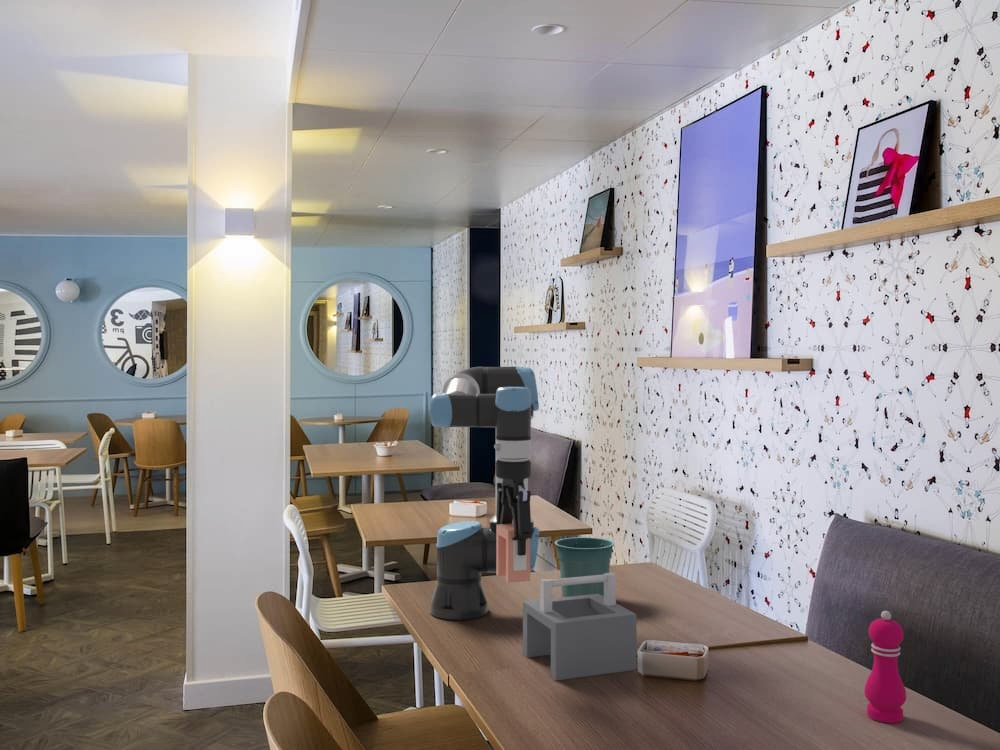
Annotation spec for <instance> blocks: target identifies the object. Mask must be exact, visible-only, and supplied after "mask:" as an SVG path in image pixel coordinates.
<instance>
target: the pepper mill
mask: <svg viewBox="0 0 1000 750" xmlns="http://www.w3.org/2000/svg"><path fill="white" fill-rule="evenodd" d="M880 617H881V618H876V619H875V620H872V622H870V625H869V626H868V637H869V638H870V640H871V641H872V643H871V653H873V664H872V669H871V671H870V673H869V676H868V677H867V679H866V682H865V684H864V685H865V686H864V697H865V698H866V700H868V702H869V703H868V704H867V705H866V714H867V717H868V718H869V719H871V718H872V719H871V720H873V719H874V721H875V720H877V721H876V722H879V721H881V722H880V723H883V722H886V723H885V724H899V723H901V722H903V720H904V709H903V708H902V706H903V705H904V704H905V703H906V701H907V691H906V687H905V685H904V683H903V681H902V678H901V676H900V673H899V672H900V671H899V666H898V658H899V656H900V655H901V652H900V651H901V647H900V644H901V643H902V641H904V630H903V628H902V626H901V625H900V624H899V622H897V621H895V620H893V619H892V614H891V611H888V610H883V611H882V612H881V614H880ZM898 722H899V723H898Z"/></svg>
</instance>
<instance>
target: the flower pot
mask: <svg viewBox="0 0 1000 750" xmlns="http://www.w3.org/2000/svg"><path fill="white" fill-rule="evenodd" d="M554 546H556V551H557V553H556V554H557V558H558V562H559V572H560V573H559V575H560V579H561V578H571V577H582V576H593V575H603V574H604V573H610V566H611V559H612V556H613V555H612V553H613V547H614V546H615V542H614V541H613V540H610V539H608V538H607V539H606V538H601V537H587V536H586V537H585V536H582V537H581V536H580V537H579V536H578V537H577V536H575V537H567V538H561V539H558V540H556V541H554ZM591 594H600V595H602V596H604V582H597V583H587V584H577V585H566V586H561V596H562V597H571V596H581V595H591Z"/></svg>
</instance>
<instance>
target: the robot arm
mask: <svg viewBox="0 0 1000 750" xmlns="http://www.w3.org/2000/svg"><path fill="white" fill-rule="evenodd" d="M536 379H537V378H536V374H535V372H534V370H533V368H530V367H527V366H526V367H525V366H475V367H469V368H466V369H463V370H460V371H457V372H456V373H453V374H452V375H451V376H449V377H448V378H447V380H446V381H445V382H444V385H443V388H442V393H435V394H433V395H431V397H430V407H429V409H430V411H429V412H430V424H431V425H432V427H435V428H443V429H444V428H445V429H448V428H495V444H494V445H493V447H494V449H495V489H494V490H495V491H494V492H495V497H494V498H495V499H494V500H495V502H494V503H495V508H494V509H495V511H494V512H495V514H494V515H493V517H491V519H489V527H483V526H482V523H481V522H480V521H475V520H474V521H473V520H467V521H466V520H465V521H458V522H454V523H450V524H449V523H448V524H446V525H444V526H442V527H440V528H439V530H438V531H437V534H436V535H437V539H436V545H435V547H436V548H437V549H436V550H437V551H436V562H437V563H436V585H435V588H434V591H433V593H432V597H431V601H430V604H429V605H430V607H429V608H430V609H429V610H430V611H429V612H430V614H431V615H432V616H433V617H436V618H439V619H444V620H452V621H453V620H454V621H455V620H457V621H458V620H459V621H460V620H461V621H463V620H472V619H477V618H481V617H483V616H486V615H487V614H488V611H489V610H488V609H489V603H488V601H487V596H486V593H485V591H484V587H483V584H482V574H483V573H488V574H489V573H493V574H494V573H495V574H496V525H498V524H512V523H513V524H514V532H515V537H513V538H512V540H513V570H514V571H520V570H526V549H527V539H528V538H530V572H532V571H533V570H534V569H535V567H536V562H537V555H538V548H539V536H540V528H538V527H536V526H535V524H534V520H533V518H532V517H531V491H530V490H529V485H528V484H529V478H531V476H532V467H531V466H532V461H531V460H530V458H531V457H532V437H531V435H532V432H531V431H532V430H531V429H532V426H531V425H532V419H533V418H534V412H537V411H539V409H540V404H539V394H538V387H537V380H536Z"/></svg>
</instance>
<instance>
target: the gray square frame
mask: <svg viewBox="0 0 1000 750" xmlns="http://www.w3.org/2000/svg"><path fill="white" fill-rule="evenodd" d="M597 582H604V596H602V595H600V594H591V595H581V596H571V597H553V588H554V587H562V586H566V585H577V584H587V583H597ZM637 616H638V615H637V613H635V612H633V611H631V610H629V609H627V608H625V607H624V606H622V605H620V604H618V603H617V574H615V573H614V572H609V573H604V574H603V575H593V576H582V577H571V578H561V577H560V578H553V579H552V578H551V579H550V578H541V579H539V599H534V600H533V599H532V600H523V601H522V655H523V656H524V657H526V658H534V657H535V658H536V657H542V656H550V677H551V679H552V680H555V682H557V681H562V680H569V679H571V680H572V679H579V678H584V677H593V676H599V675H600V676H601V675H608V674H615V673H622V672H629V671H635V670H637V623H638V622H637Z"/></svg>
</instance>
